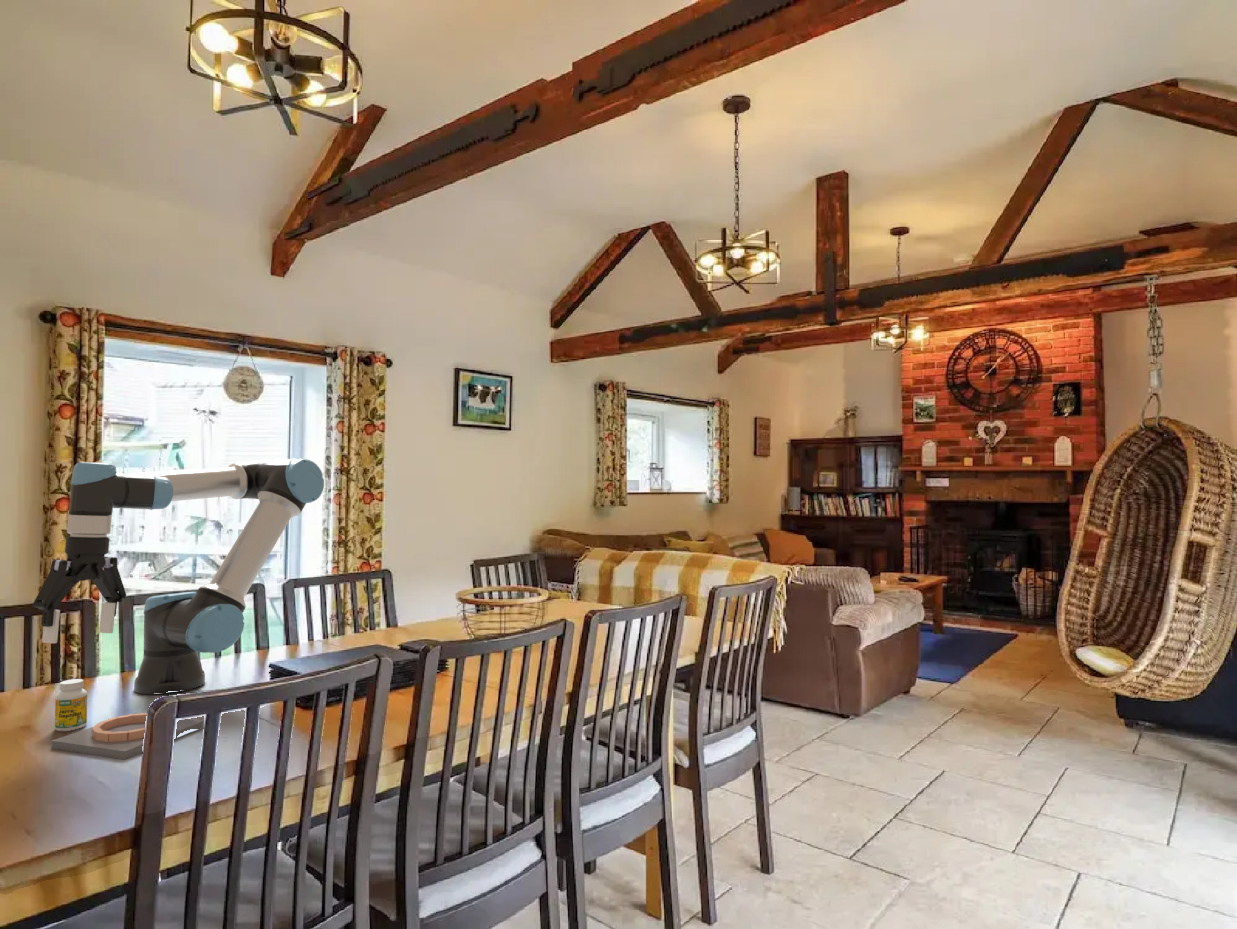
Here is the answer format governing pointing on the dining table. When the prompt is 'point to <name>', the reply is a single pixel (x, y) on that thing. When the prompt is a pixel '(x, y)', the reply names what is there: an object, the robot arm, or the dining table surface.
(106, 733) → the coaster stand
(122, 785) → the dining table surface
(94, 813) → the dining table surface
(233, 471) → the robot arm
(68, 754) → the dining table surface
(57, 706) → the supplement bottle
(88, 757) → the dining table surface
